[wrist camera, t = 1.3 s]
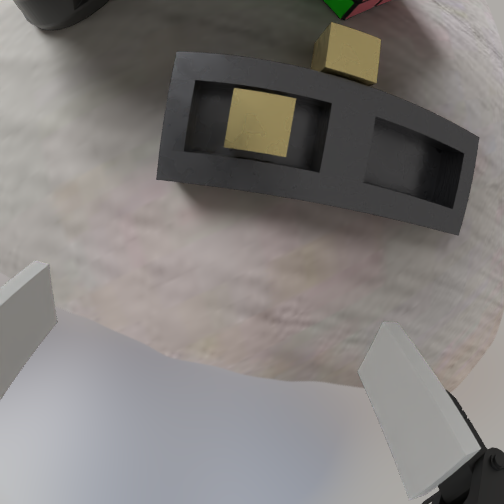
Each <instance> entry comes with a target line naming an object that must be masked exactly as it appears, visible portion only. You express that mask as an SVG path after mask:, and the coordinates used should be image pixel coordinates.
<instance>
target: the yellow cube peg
mask: <svg viewBox="0 0 504 504" xmlns="http://www.w3.org/2000/svg"><path fill="white" fill-rule="evenodd" d="M295 103H296V98H291V97H286V96H281V95H275V94H270V93H264V92H258V91H252V90H245V89H238V88H234V90H233V96H232V102H231V107H230V113H229V119H228V125H227V131H226V137H225V143H224V147H226V148H233V149H240V150H247V151H253V152H259V153H265V154H271V155H277V156H282V157H286V154H287V148H288V143H289V137H290V132H291V126H292V120H293V114H294V108H295Z"/></svg>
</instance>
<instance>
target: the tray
mask: <svg viewBox="0 0 504 504" xmlns="http://www.w3.org/2000/svg"><path fill="white" fill-rule="evenodd" d="M234 88H238V89H245V90H252V91H258V92H264V93H270V94H275V95H281V96H286V97H291V98H296V103H295V108H294V114H293V120H292V126H291V132H290V137H289V143H288V148H287V154H286V157H282V156H277V155H271V154H265V153H259V152H253V151H247V150H240V149H233V148H226V147H224V143H225V137H226V131H227V125H228V119H229V113H230V107H231V102H232V96H233V90H234ZM478 142H479V137H478V136H476V135H474V134H472V133H471V132H469V131H467V130H465V129H464V128H462V127H460V126H458V125H456V124H454V123H452V122H451V121H449V120H447V119H445V118H443V117H441V116H439V115H437V114H435V113H433V112H430V111H428V110H426V109H424V108H422V107H420V106H417V105H415V104H413V103H411V102H408V101H406V100H403V99H401V98H399V97H396V96H394V95H391V94H388V93H386V92H383V91H380V90H378V89H375V88H372V87H369V86H366V85H363V84H360V83H357V82H354V81H351V80H348V79H345V78H341V77H338V76H334V75H331V74H327V73H323V72H320V71H316V70H312V69H307V68H303V67H299V66H294V65H289V64H285V63H279V62H274V61H268V60H263V59H256V58H250V57H242V56H234V55H225V54H215V53H202V52H182V51H177V53H176V58H175V62H174V67H173V72H172V77H171V82H170V87H169V92H168V98H167V104H166V110H165V116H164V122H163V129H162V136H161V143H160V151H159V159H158V168H157V178H156V180H165V181H174V182H183V183H191V184H199V185H207V186H215V187H222V188H229V189H236V190H243V191H250V192H256V193H262V194H269V195H275V196H281V197H287V198H292V199H298V200H304V201H309V202H314V203H320V204H325V205H330V206H335V207H340V208H345V209H350V210H355V211H359V212H364V213H369V214H373V215H378V216H382V217H387V218H391V219H395V220H399V221H404V222H408V223H412V224H416V225H420V226H424V227H428V228H432V229H436V230H439V231H443V232H447V233H451V234H454V235H459V232H460V228H461V225H462V221H463V217H464V214H465V210H466V206H467V202H468V197H469V193H470V188H471V184H472V179H473V174H474V168H475V162H476V156H477V150H478Z"/></svg>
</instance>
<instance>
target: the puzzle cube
mask: <svg viewBox="0 0 504 504" xmlns="http://www.w3.org/2000/svg"><path fill="white" fill-rule="evenodd" d="M323 1H324V2H325V3H326V4H327V5H328V6H329V7H330V8H331V9H332V10H333V11H334V12H335V14H336V15H337V16H338V17H339V18H340V19H342V20H346V19H348V18H350V17H352V16H354V15H357V14H359V13H361V12H364V11H366V10H368V9H371V8H372V7H374V6H378V5H381V4H383V3H386V2H388V1H391V0H323Z"/></svg>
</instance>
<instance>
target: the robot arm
mask: <svg viewBox="0 0 504 504" xmlns="http://www.w3.org/2000/svg"><path fill="white" fill-rule="evenodd" d="M13 1H14V2H15V4H16V5H17V6H18V8H19V9H20V10H21V11H22V13H23V14H24V16H25V18H26V19H27V21H28V22H30V23H31V24H32V25H35V26H37V27H39V28H42V29H45V30H58V29H62V28H65V27H68V26H71V25H73V24H75V23H77V22H79V21H81V20H83V19H85V18H86V17H88V16H89V15H91V14H92V13H94V12H95V11H97V10H98V9H99V8H100V7H102V6H103V5H104V4H105V3H106V2H108V1H109V0H13ZM57 322H58V321H57V316H56V310H55V304H54V298H53V291H52V284H51V275H50V266H49V264H47V263H43V262H40V261H36V260H35V261H34V262H32V263H31V264H30V265H28V266H27V267H26V268H25V269H23V270H22V271H21V272H19V273H18V274H17V275H15V276H14V277H13V278H12V279H11V280H9V281H8V282H7V283H5V284H4V285H3V286H2V287H1V288H0V400H1V398H2V397H3V396H4V394H5V392H6V391H7V389H8V388H9V387H10V385H11V383H12V382H13V381H14V379H15V378H16V376H17V375H18V374H19V372H20V371H21V369H22V367H24V365H25V364H26V362H27V361H28V360H29V358H30V357H31V356H32V354H33V353H34V352H35V350H36V349H37V348H38V346H39V345H40V344H41V342H42V341H43V340H44V339H45V337H46V336H47V335H48V334H49V332H50V331H51V330H52V328H53V327H54V326H55V325H56V324H57ZM357 372H358V374H359V376H360V379H361V381H362V383H363V386H364V388H365V390H366V392H367V395H368V397H369V399H370V402H371V404H372V406H373V409H374V411H375V414H376V416H377V418H378V421H379V423H380V426H381V428H382V431H383V433H384V435H385V438H386V440H387V443H388V445H389V448H390V450H391V453H392V456H393V458H394V461H395V463H396V466H397V468H398V471H399V473H400V477H401V479H402V482H403V485H404V487H405V490H406V493H407V496H408V498H409V500H412V499H415V498H418V497H421V496H423V495H426V494H428V493H429V492H430V491H431V490H433V489H434V488H436V487H437V486H438V488H439V491H438V492H437V493H435V494H434V495H432V496H431V497H430V498H428V499H427V500H425V501H424V502H423V503H422V504H429V503H430V502H432V504H504V453H503V452H502V451H501V450H499V449H497V448H490V449H487V448H486V447H485V445H484V443H483V442H482V440H481V438H480V437H479V435H478V433H477V431H476V430H475V428H474V427H473V425H472V423H471V422H470V420H469V419H467V415H466V414H465V412H464V411H462V407H461V406H460V404H459V403H458V401H457V400H456V398H455V397H454V396H453V395H452V394H450V393H449V392H448V391H447V390H445V389H444V387H443V385H442V384H441V382H440V381H439V379H438V378H437V377H436V375H435V374H434V372H433V371H432V369H431V368H430V366H429V365H428V363H427V362H426V360H425V359H424V358H423V356H422V355H421V353H420V352H419V351H418V349H417V348H416V346H415V345H414V344H413V342H412V341H411V339H410V338H409V337H408V335H407V334H406V333H405V331H404V330H403V329H402V327H401V326H400V325H399V323H398V322H389V321H383V322H382V324H381V327H380V329H379V331H378V333H377V335H376V337H375V339H374V341H373V343H372V345H371V347H370V349H369V351H368V353H367V355H366V357H365V358H364V360H363V362H362V364H361V366H360V368H359V370H358V371H357Z"/></svg>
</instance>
